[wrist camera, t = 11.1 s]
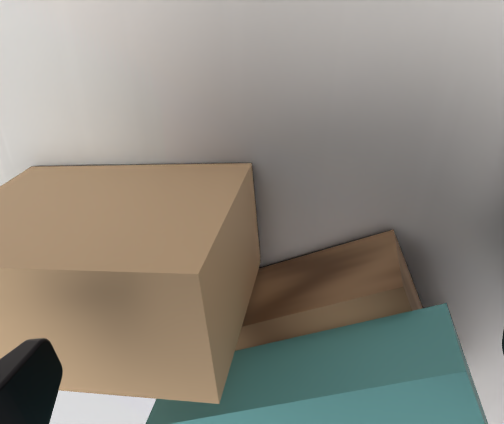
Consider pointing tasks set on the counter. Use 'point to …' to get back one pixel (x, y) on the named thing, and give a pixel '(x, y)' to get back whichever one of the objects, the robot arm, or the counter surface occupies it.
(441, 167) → the counter surface
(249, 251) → the box
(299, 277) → the walnut block
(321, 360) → the lid
